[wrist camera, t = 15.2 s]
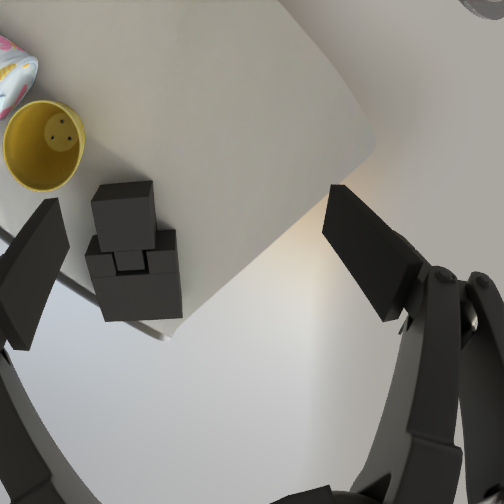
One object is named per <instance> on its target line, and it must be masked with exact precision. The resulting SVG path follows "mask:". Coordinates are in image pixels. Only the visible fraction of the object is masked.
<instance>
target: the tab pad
mask: <svg viewBox="0 0 504 504" xmlns="http://www.w3.org/2000/svg"><path fill="white" fill-rule="evenodd" d="M91 205H92V211H93V216H94V221H95V226H96V231H97V236H98V240H99V245H100V249H101V252H114V255H115V260H116V264H117V269H118V271H124V270H141V269H144V268H145V260H146V250H147V249H155V240H156V231H157V225H156V215H155V204H154V192H153V181H142V182H129V183H118V184H107V185H100V187H99V188H98V190H97V192H96V194H95V195H94V197H93V199H92V200H91Z"/></svg>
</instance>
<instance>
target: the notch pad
mask: <svg viewBox="0 0 504 504" xmlns="http://www.w3.org/2000/svg"><path fill="white" fill-rule="evenodd" d="M85 259H86V263H87V266H88V270H89V273H90V277H91V280H92V283H93V287H94V290H95V293H96V296H97V299H98V302H99V305H100V308H101V311H102V314H103V317H104V320H105V322H112V321H139V320H158V319H175V318H183V314H182V294H181V285H180V275H179V264H178V253H177V240H176V230H163V231H156V240H155V249H147V250H146V260H145V268H144V269H141V270H124V271H118V269H117V264H116V260H115V255H114V252H101V249H100V245H99V240H98V236H97V235H93V236H92V239H91V241H90V244H89V246H88V249H87V251H86V254H85Z"/></svg>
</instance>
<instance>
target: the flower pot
mask: <svg viewBox="0 0 504 504" xmlns="http://www.w3.org/2000/svg"><path fill="white" fill-rule="evenodd" d="M61 120H63V121H64V122H63V123H61ZM52 136H54V139H52ZM68 137H71V140H69V139H68ZM84 143H85V133H84V127H83V124H82V121H81V119H80V117H79V116H78V114H77V113H76V112H75V111H74V110H73V109H72V108H70V107H69V106H67V105H65V104H63V103H61V102H57V101H52V100H38V101H33V102H30V103H28V104H26V105H24V106H22V107H21V108H20V109H19V110H17V111H16V112H15V114H14V115H13V116H12V117H11V119H10V120H9V122H8V124H7V127H6V129H5V132H4V137H3V156H4V160H5V163H6V166H7V168H8V170H9V172H10V173H11V175H12V176H13V178H14V179H15V180H16V181H17V182H18V183H19V184H21V185H22V186H24V187H26V188H27V189H30V190H33V191H37V192H48V191H52V190H55V189H58V188H59V187H61V186H63V185H64V184H65V183H66V182H68V180H69V179H70V178H71V177H72V176H73V174H74V172H75V171H76V169H77V167H78V165H79V163H80V160H81V157H82V154H83V150H84Z"/></svg>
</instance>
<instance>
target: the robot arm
mask: <svg viewBox="0 0 504 504" xmlns="http://www.w3.org/2000/svg"><path fill="white" fill-rule="evenodd" d="M486 1H492V2H499V1H503V0H486ZM322 233H323V235H324V236H325V237H326V239H327V240H328V242H329V243H330V244H331V246H332V247H333V249H334V250H335V252H336V253H337V254H338V256H339V257H340V259H341V260H342V262H343V263H344V264H345V266H346V267H347V269H348V270H349V271H350V273H351V275H352V276H353V277H354V279H355V280H356V282H357V283H358V285H359V286H360V288H361V289H362V291H363V292H364V294H365V295H366V297H367V298H368V300H369V301H370V303H371V305H372V306H373V308H374V309H375V311H376V312H377V314H378V315H379V317H380V318H381V320H382V322H386V321H391V320H395V319H398V318H399V316H400V314H401V312H402V310H403V308H405V310H406V311H407V312H408V316H407V318H406V320H405V322H404V324H403V326H402V327H401V329H400V331H399V333H398V334H401V333H402V332H403V334H402V339H401V344H400V349H399V353H398V357H397V362H396V366H395V370H394V374H393V378H392V382H391V386H390V389H389V393H388V397H387V400H386V404H385V407H384V411H383V414H382V417H381V420H380V423H379V427H378V430H377V433H376V436H375V439H374V441H373V445H372V447H371V450H370V453H369V455H368V458H367V461H366V463H365V465H364V468H363V469H362V471H361V473H360V474H359V475H358V477H357V478H356V480H355V482H354V483H353V485H352V487H351V489H350V491H349V492H347V491H331V488H330V485H326V486H323V487H320V488H316V489H312V490H309V491H305V492H300V493H296V494H292V495H288V496H286V497H284V498H281V499H280V500H277V501H275V502H273V503H270V504H453V502H454V498H455V494H456V489H457V485H458V480H459V476H460V470H461V465H462V455H463V452H462V450H461V448H460V447H458V446H455V445H454V433H455V426H456V418H457V409H458V399H459V401H460V409H461V416H462V425H463V436H464V450H465V470H466V471H465V472H466V491H467V498H468V504H504V302H503V300H502V298H501V296H500V294H499V292H498V290H497V288H496V286H495V284H494V282H493V281H492V280H491V279H490V278H489V276H487V275H485V274H484V273H480V272H472V273H471V275H470V277H469V279H468V281H461V280H457V277H456V276H455V275H454V274H453V273H452V272H451V271H450V270H448V269H446V268H444V267H440V266H431V265H430V264H429V263H428V262H427V260H426V259H425V258H424V257H423V256H422V255H421V254H420V253H419V252H418V251H417V250H415V248H414V247H413V246H412V245H411V244H410V243H409V242H408V241H407V240H406V239H405V238H404V237H403V236H402V235H400V234H399V233H397V232H396V231H394V230H392V229H391V228H390V227H389V226H388V225H386V223H385V222H384V221H383V220H382V219H381V218H380V217H379V216H377V215H376V214H375V213H374V212H373V211H372V210H371V209H370V208H369V207H368V206H367V205H366V204H365V203H364V202H363V201H362V200H361V199H360V198H358V197H357V196H356V195H355V194H354V193H353V192H352V191H351V190H350V189H349V188H347V187H346V186H345V185H332V184H331V187H330V193H329V198H328V204H327V209H326V214H325V220H324V225H323V230H322ZM69 248H70V245H69V242H68V238H67V234H66V230H65V226H64V222H63V218H62V214H61V209H60V205H59V200H58V198H50V199H44V201H43V202H42V203H41V204H40V206H39V207H38V208H37V209H36V211H35V212H34V213H33V214H32V216H31V217H30V218H29V220H28V221H27V222H26V224H25V225H24V226H23V228H22V229H21V230H20V232H19V233H18V235H17V236H16V237H15V239H14V240H13V242H12V243H11V245H10V246H9V247H8V249H7V250H6V252H5V253H4V254H2V255H1V256H0V480H1V482H2V483H3V485H4V487H5V489H6V491H7V493H8V495H9V497H10V499H11V503H10V504H102V503H101V502H99V500H97V498H96V497H95V496H94V495H93V494H92V493H91V491H90V490H89V489H88V488H87V486H86V485H85V484H84V483H83V481H82V480H81V479H80V477H79V476H78V475H77V473H76V472H75V471H74V470H73V468H72V467H71V465H70V464H69V463H68V461H67V460H66V458H65V457H64V455H63V454H62V452H61V451H60V449H59V448H58V446H57V445H56V443H55V442H54V440H53V439H52V437H51V436H50V434H49V432H48V431H47V429H46V428H45V426H44V424H43V422H42V421H41V419H40V417H39V416H38V414H37V412H36V410H35V408H34V407H33V405H32V403H31V401H30V399H29V397H28V395H27V393H26V391H25V389H24V388H23V385H22V383H21V381H20V379H19V377H18V375H17V373H16V371H15V368H14V366H13V364H12V362H11V359H10V357H9V355H8V353H7V351H6V350H5V348H4V345H5V342H6V340H8V342H9V343H10V345H11V346H12V348H13V350H24V351H29V350H30V347H31V344H32V341H33V338H34V335H35V332H36V329H37V326H38V323H39V320H40V318H41V315H42V312H43V310H44V307H45V304H46V302H47V299H48V296H49V294H50V292H51V289H52V287H53V284H54V282H55V279H56V277H57V275H58V272H59V270H60V268H61V266H62V263H63V261H64V259H65V257H66V255H67V253H68V250H69ZM477 320H478V326H477V329H476V330H475V327H474V325H475V323H476V322H477Z"/></svg>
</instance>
